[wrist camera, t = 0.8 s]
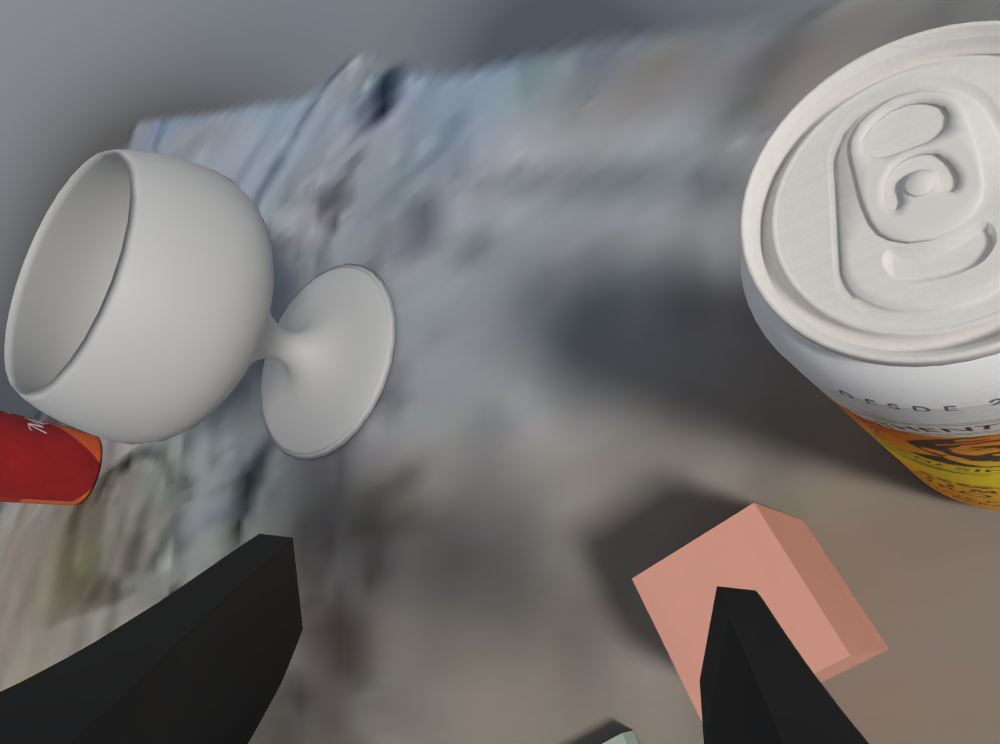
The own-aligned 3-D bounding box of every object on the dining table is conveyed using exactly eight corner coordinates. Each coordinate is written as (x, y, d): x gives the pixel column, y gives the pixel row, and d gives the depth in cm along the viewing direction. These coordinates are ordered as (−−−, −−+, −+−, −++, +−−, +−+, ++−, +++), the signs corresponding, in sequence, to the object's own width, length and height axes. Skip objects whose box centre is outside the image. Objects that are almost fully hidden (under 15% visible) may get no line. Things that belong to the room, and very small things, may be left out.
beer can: (913, 525, 22) (744, 428, 11) (871, 345, 24) (695, 109, 13) (1170, 499, 19) (1308, 320, 8) (1096, 292, 21) (1118, -87, 10)
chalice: (355, 211, 45) (117, 77, 34) (451, 346, 37) (175, 226, 26) (237, 371, 49) (-14, 297, 38) (299, 528, 41) (-1, 492, 29)
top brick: (888, 649, 22) (850, 655, 18) (764, 710, 24) (704, 728, 20) (803, 521, 24) (753, 502, 21) (695, 584, 26) (631, 578, 22)
